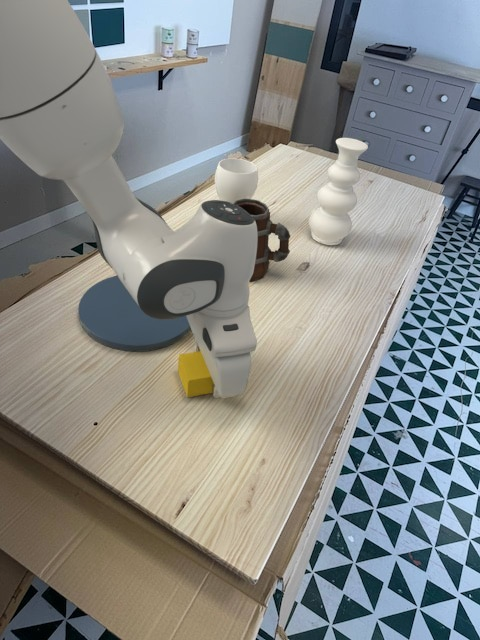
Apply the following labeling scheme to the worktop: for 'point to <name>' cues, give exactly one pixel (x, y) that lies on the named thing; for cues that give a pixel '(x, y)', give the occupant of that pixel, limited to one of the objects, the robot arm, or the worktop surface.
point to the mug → (265, 236)
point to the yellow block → (194, 374)
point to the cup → (236, 179)
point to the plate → (125, 320)
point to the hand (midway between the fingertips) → (209, 372)
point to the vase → (337, 195)
